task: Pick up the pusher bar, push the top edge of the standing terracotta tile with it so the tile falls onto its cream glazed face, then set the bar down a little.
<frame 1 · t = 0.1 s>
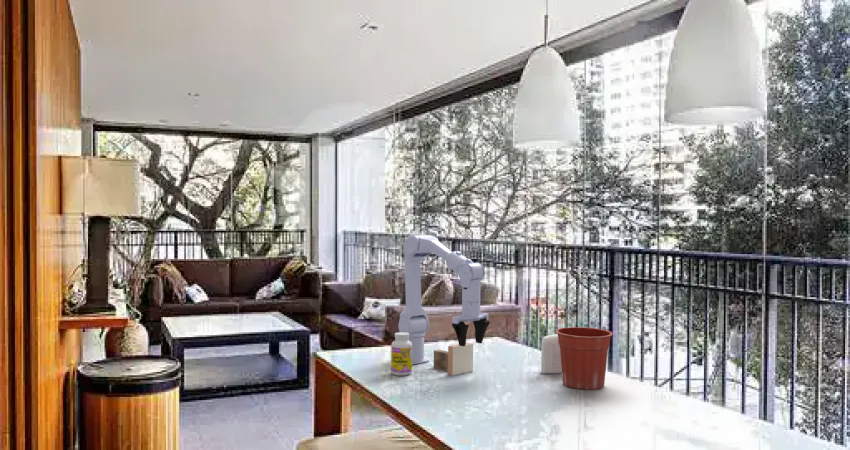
hand: (470, 344, 206), 10 cm above the table, tool pointing down, fingers open, 7 cm apart
flower pot: (583, 385, 196), on the table
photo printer: (556, 373, 212), on the table
supplement bottle: (401, 374, 209), on the table
pusher bar: (444, 368, 216), on the table
glazed tile: (460, 372, 211), on the table
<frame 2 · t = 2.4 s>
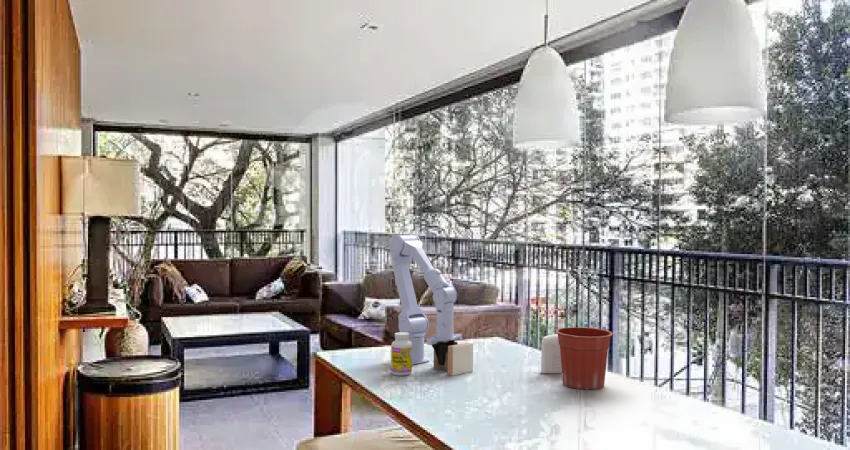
hand: (444, 364, 216), 1 cm above the table, tool pointing down, fingers closed on pusher bar, 2 cm apart
pusher bar: (444, 368, 216), on the table, touching gripper
everything else where it was.
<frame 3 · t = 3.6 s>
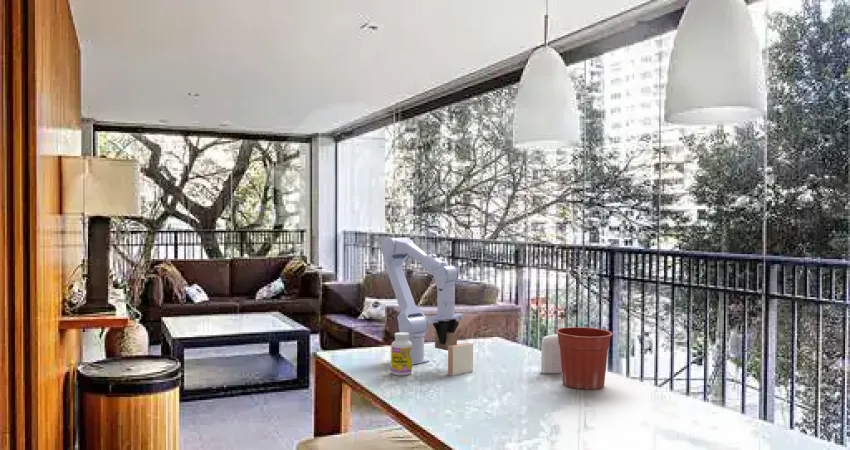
hand: (445, 343, 216), 8 cm above the table, tool pointing down, fingers closed on pusher bar, 2 cm apart
pusher bar: (445, 349, 216), point 6 cm above the table, touching gripper
everything else where it was.
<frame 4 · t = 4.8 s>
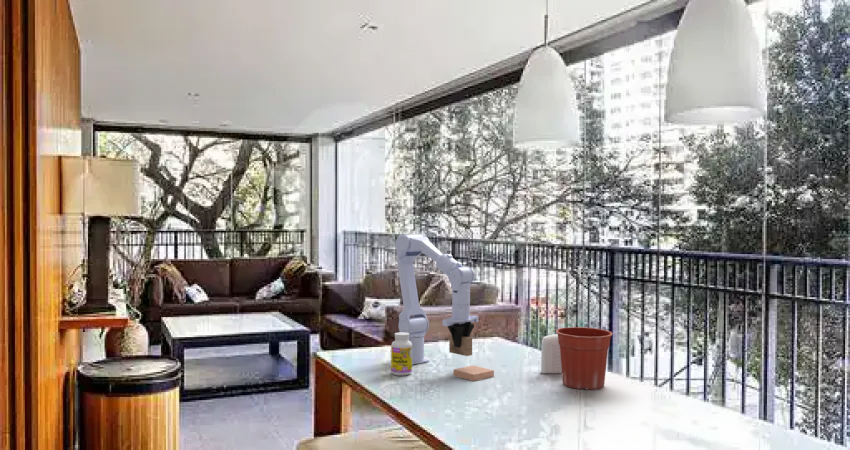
hand: (460, 346, 211), 8 cm above the table, tool pointing down, fingers closed on pusher bar, 2 cm apart
pusher bar: (460, 353, 211), point 6 cm above the table, touching gripper
glazed tile: (463, 371, 210), point 1 cm above the table, tilted 90°
everything else where it was.
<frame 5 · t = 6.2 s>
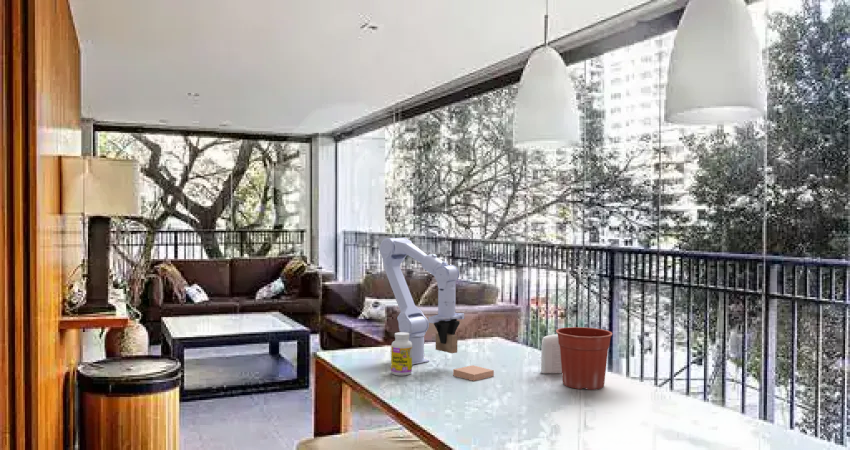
hand: (446, 342, 217), 8 cm above the table, tool pointing down, fingers closed on pusher bar, 2 cm apart
pusher bar: (446, 351, 217), point 6 cm above the table, touching gripper
everything else where it was.
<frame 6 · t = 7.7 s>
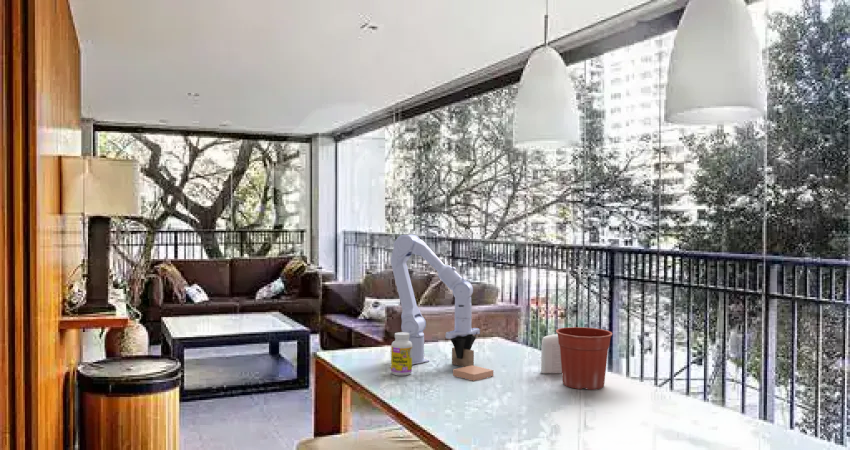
hand: (462, 357, 221), 3 cm above the table, tool pointing down, fingers closed on pusher bar, 2 cm apart
pusher bar: (462, 365, 221), on the table, touching gripper
everything else where it was.
when the fingers open (2 cm above the table, at t = 8.0 s): pusher bar stays where it is, on the table.
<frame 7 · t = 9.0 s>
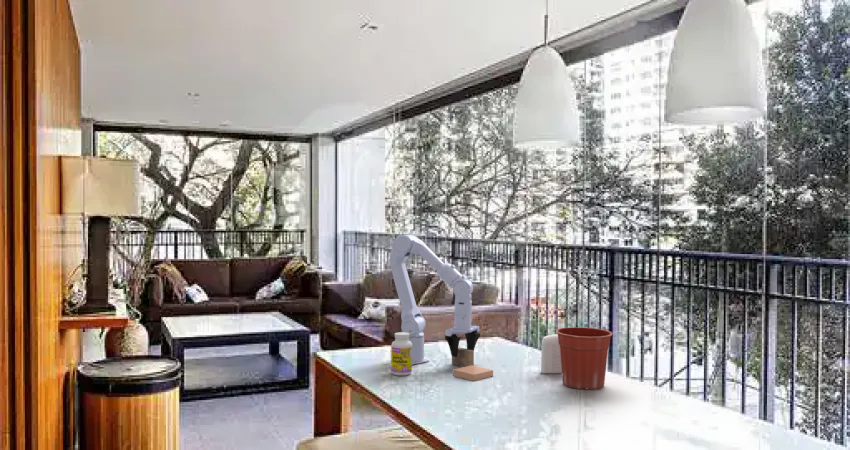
hand: (462, 355, 221), 3 cm above the table, tool pointing down, fingers open, 7 cm apart
pusher bar: (462, 365, 221), on the table
everything else where it was.
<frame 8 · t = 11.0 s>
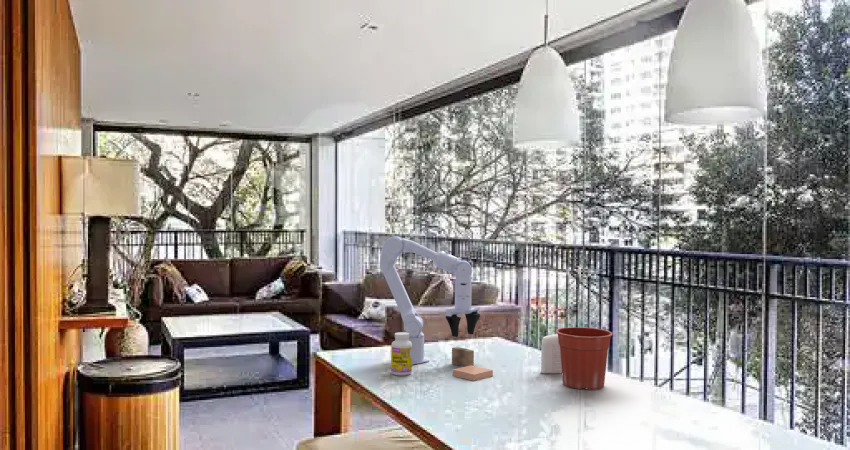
hand: (462, 335, 226), 9 cm above the table, tool pointing down, fingers open, 7 cm apart
nothing on the table moved.
at the end: glazed tile tilted 90°; pusher bar inside the target area (0.0 cm from its centre), on the table; the gripper is holding nothing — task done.
